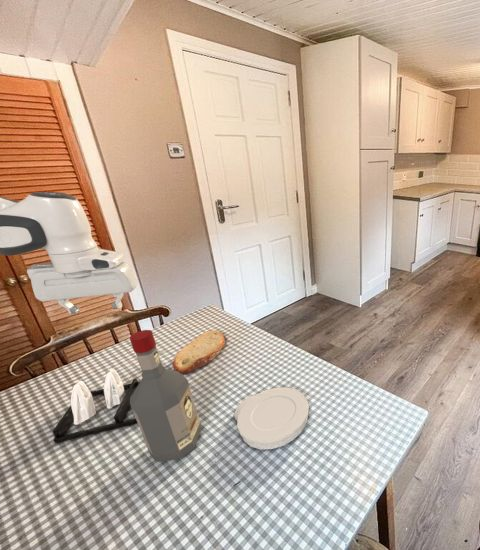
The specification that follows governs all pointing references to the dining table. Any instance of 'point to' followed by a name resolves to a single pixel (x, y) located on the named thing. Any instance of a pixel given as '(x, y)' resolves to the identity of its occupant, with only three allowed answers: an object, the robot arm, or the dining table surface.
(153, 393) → the liquor
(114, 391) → the shaker set
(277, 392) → the lid
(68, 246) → the robot arm
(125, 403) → the dish rack
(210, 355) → the bread slice
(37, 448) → the dining table surface
